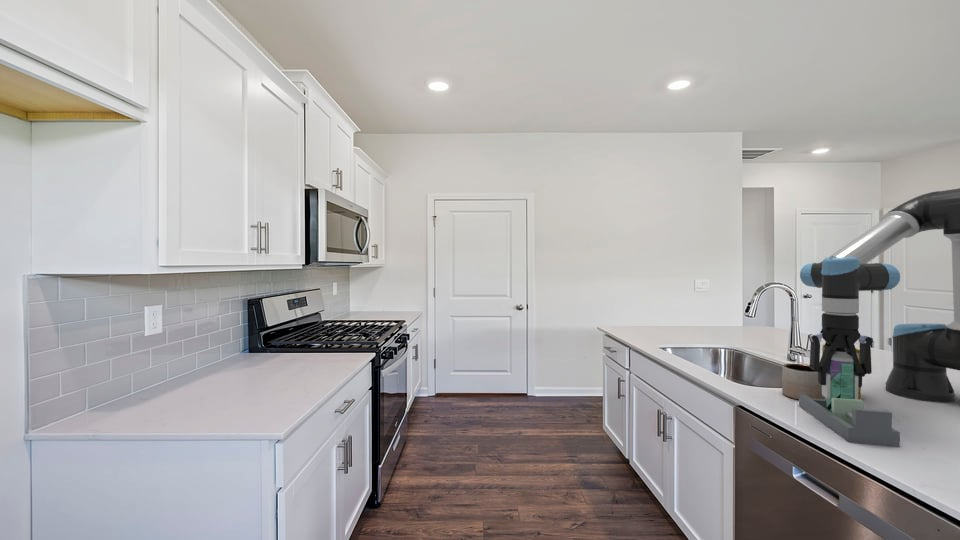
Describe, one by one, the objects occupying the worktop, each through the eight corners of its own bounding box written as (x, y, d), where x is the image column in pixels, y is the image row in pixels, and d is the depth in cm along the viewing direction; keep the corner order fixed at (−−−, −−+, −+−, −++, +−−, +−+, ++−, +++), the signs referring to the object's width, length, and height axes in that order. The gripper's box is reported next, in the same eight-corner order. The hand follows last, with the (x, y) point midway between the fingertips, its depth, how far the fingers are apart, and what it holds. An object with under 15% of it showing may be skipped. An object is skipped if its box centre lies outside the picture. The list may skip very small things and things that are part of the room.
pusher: (860, 425, 105) (860, 399, 105) (873, 433, 100) (873, 406, 100) (831, 423, 107) (831, 397, 107) (842, 431, 102) (842, 404, 102)
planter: (815, 393, 132) (815, 364, 132) (832, 404, 122) (832, 373, 122) (776, 390, 136) (776, 362, 135) (790, 400, 125) (790, 370, 125)
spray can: (842, 414, 111) (842, 344, 111) (858, 422, 106) (859, 348, 105) (821, 414, 112) (821, 344, 111) (836, 422, 107) (836, 348, 106)
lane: (838, 408, 118) (838, 381, 118) (899, 446, 94) (899, 413, 94) (799, 405, 121) (799, 379, 121) (848, 441, 97) (848, 409, 97)
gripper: (873, 312, 109) (872, 395, 110) (793, 311, 115) (793, 390, 115) (892, 316, 102) (891, 405, 103) (806, 314, 107) (806, 399, 108)
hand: (839, 397), depth 109 cm, fingers closed on spray can, 5 cm apart
